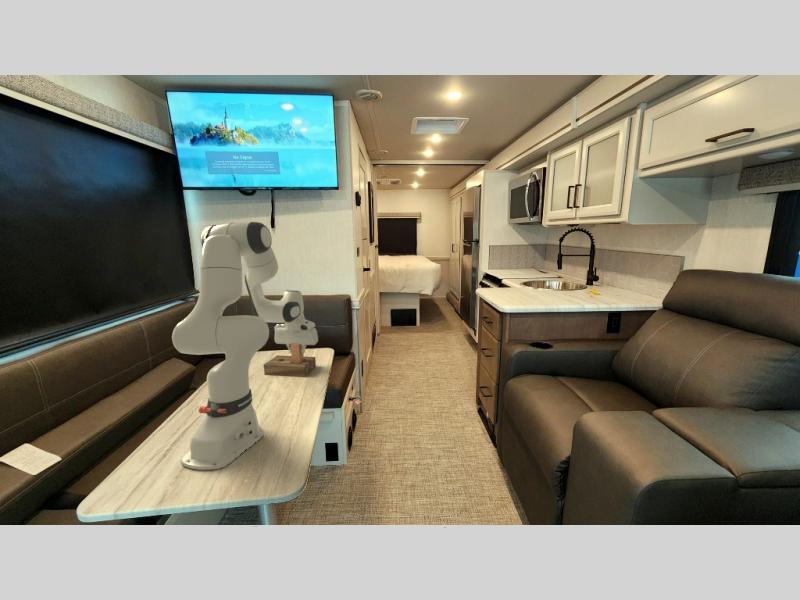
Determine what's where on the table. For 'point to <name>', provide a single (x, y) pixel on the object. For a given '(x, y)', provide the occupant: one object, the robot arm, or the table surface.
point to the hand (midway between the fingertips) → (297, 352)
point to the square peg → (296, 353)
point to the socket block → (289, 366)
